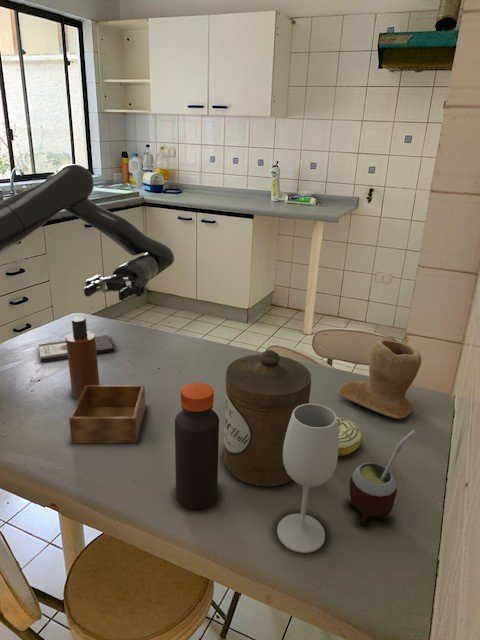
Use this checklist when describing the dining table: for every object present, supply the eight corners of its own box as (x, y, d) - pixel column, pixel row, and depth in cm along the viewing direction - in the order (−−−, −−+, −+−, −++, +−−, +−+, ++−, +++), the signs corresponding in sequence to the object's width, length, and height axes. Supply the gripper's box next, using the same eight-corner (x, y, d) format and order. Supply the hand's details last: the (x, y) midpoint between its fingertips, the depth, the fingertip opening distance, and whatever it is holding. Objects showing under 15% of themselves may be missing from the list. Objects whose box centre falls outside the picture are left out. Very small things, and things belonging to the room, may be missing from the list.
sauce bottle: (68, 399, 102) (59, 324, 95) (76, 386, 107) (68, 313, 100) (96, 400, 102) (89, 324, 95) (102, 386, 107) (96, 314, 101)
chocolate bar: (113, 347, 124) (40, 358, 116) (113, 351, 124) (41, 362, 117) (107, 335, 131) (38, 344, 124) (107, 338, 132) (39, 347, 124)
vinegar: (221, 484, 79) (224, 382, 71) (211, 514, 73) (213, 405, 65) (183, 478, 80) (182, 376, 73) (170, 506, 74) (167, 398, 66)
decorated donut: (327, 420, 98) (329, 405, 97) (370, 445, 90) (373, 429, 89) (293, 438, 92) (295, 422, 90) (336, 467, 84) (339, 450, 83)
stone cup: (421, 406, 104) (434, 346, 99) (398, 428, 96) (411, 364, 90) (360, 382, 114) (369, 326, 108) (335, 400, 105) (343, 341, 100)
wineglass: (315, 510, 74) (329, 398, 66) (334, 549, 67) (352, 429, 60) (270, 517, 73) (279, 402, 65) (284, 557, 66) (297, 435, 58)
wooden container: (222, 435, 92) (225, 333, 84) (296, 434, 93) (306, 334, 85) (224, 488, 78) (227, 373, 70) (311, 487, 79) (324, 374, 71)
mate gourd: (339, 517, 73) (351, 439, 67) (355, 488, 79) (368, 414, 74) (386, 539, 70) (403, 458, 64) (399, 506, 76) (416, 430, 70)
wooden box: (71, 443, 88) (68, 418, 86) (87, 407, 99) (85, 384, 97) (136, 443, 89) (135, 418, 86) (145, 407, 100) (144, 385, 98)
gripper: (106, 259, 121) (73, 275, 107) (158, 264, 119) (131, 282, 104) (108, 286, 124) (76, 306, 109) (158, 292, 122) (132, 313, 107)
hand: (103, 294), depth 107 cm, fingers open, 8 cm apart
